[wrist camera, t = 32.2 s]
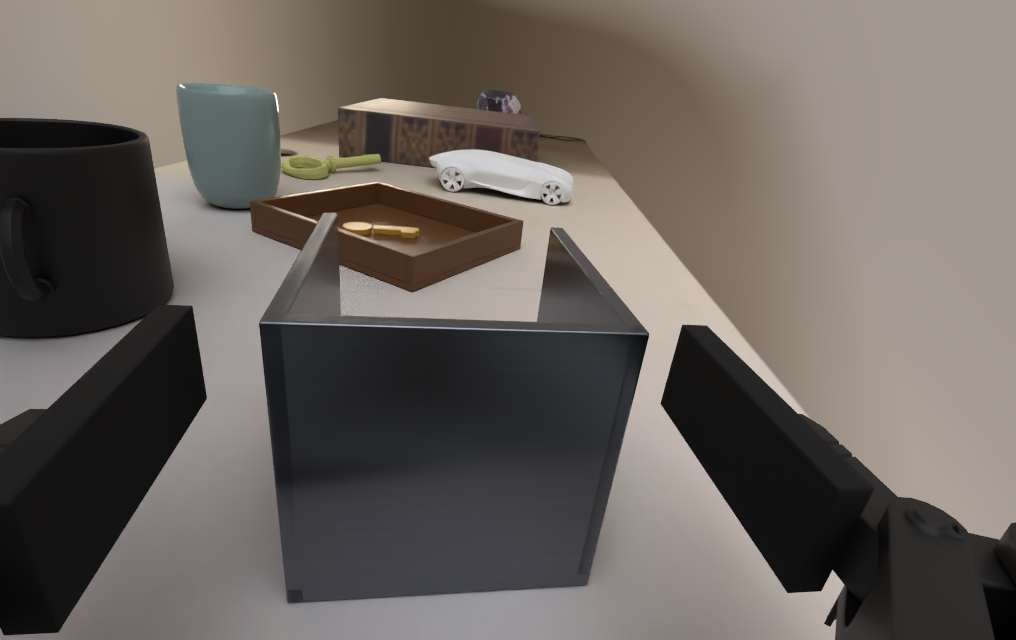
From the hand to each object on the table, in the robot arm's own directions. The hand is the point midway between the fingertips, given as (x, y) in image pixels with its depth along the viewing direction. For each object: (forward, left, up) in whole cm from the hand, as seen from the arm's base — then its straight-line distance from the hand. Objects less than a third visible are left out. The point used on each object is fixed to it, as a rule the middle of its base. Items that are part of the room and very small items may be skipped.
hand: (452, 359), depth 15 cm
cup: (-39, +19, -7) cm, 44 cm away
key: (-46, +36, -7) cm, 59 cm away
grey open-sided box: (-2, +2, -7) cm, 8 cm away
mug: (-25, 0, -7) cm, 26 cm away
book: (-48, +62, -7) cm, 79 cm away
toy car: (-28, +47, -7) cm, 56 cm away
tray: (-23, +22, -7) cm, 33 cm away
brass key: (-24, +22, -6) cm, 33 cm away
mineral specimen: (-57, +90, -7) cm, 107 cm away
